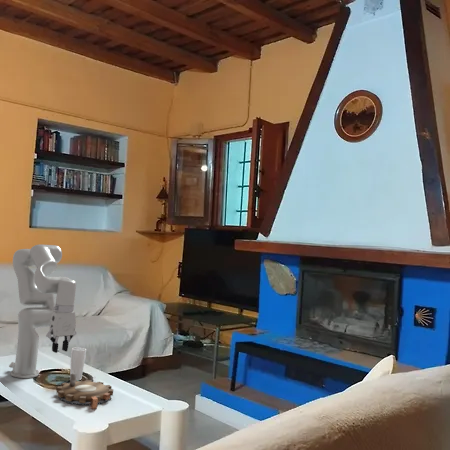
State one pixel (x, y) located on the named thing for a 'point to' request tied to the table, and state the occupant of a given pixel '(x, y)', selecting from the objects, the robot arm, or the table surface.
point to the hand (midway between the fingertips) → (59, 350)
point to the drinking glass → (77, 361)
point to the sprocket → (84, 390)
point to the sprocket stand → (92, 403)
